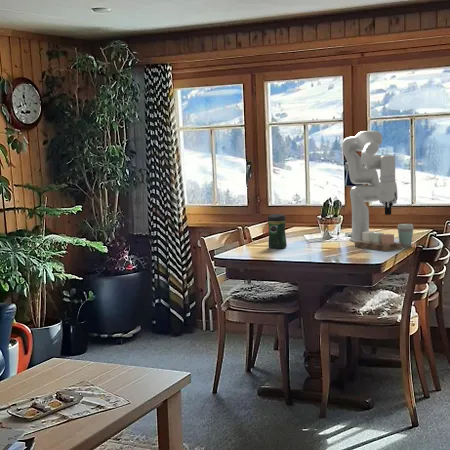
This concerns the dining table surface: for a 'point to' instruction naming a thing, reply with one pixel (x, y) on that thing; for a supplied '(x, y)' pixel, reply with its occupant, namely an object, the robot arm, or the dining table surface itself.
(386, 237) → the key terracotta
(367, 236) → the pale grey block
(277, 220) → the coffee jar
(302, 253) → the dining table surface
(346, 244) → the dining table surface
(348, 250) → the dining table surface
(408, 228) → the coffee cup
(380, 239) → the key sage
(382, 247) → the brown tray
